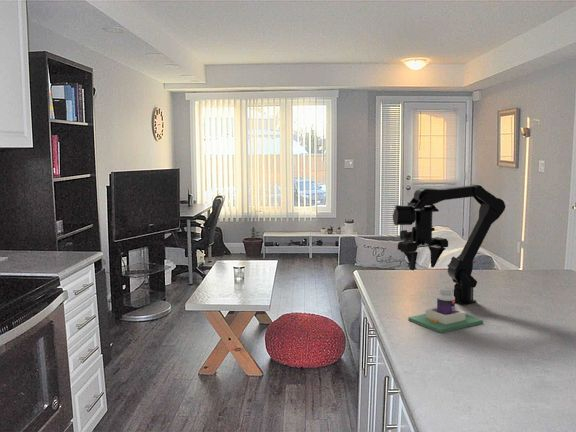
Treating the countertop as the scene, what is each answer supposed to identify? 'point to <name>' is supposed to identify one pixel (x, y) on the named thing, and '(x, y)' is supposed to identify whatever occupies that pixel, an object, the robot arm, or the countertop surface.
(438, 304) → the pill bottle
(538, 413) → the countertop surface
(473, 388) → the countertop surface
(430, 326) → the board
